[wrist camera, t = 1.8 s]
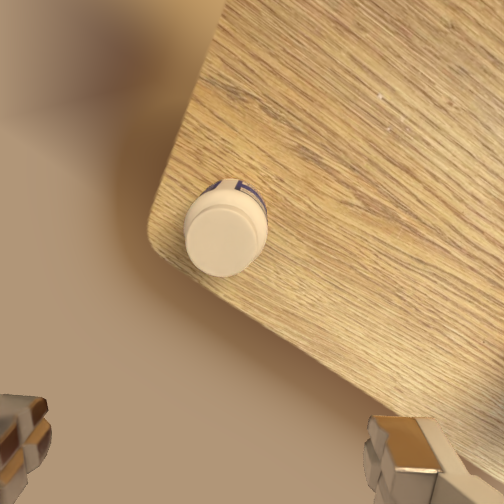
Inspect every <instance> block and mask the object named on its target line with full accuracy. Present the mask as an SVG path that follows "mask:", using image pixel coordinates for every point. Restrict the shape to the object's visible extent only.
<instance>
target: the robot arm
mask: <svg viewBox="0 0 504 504" xmlns="http://www.w3.org/2000/svg"><path fill="white" fill-rule="evenodd" d="M47 412H48V406H47V401H46V399H44V398H42V397H35V396H22V395H9V394H0V504H14V503H15V501H16V500H17V498H18V497H19V495H20V494H21V492H22V491H23V490H24V488H25V487H26V485H27V484H28V478H27V474H28V473H30V472H31V471H33V470H35V469H36V468H38V467H39V466H40V465H41V463H42V461H43V460H44V459H45V457H46V455H47V452H48V450H49V447H50V444H51V436H52V430H51V425H50V424H49V423H48V421H47V420H46V419H45V418H44V416H45V414H46V413H47ZM367 429H368V432H369V435H370V439H368V440H367V441H366V442H365V445H364V453H363V458H364V471H365V476H366V480H367V483H368V486H369V487H370V488H371V489H372V490H373V491H374V492H375V499H374V504H504V495H503V494H502V493H500V492H499V491H497V490H496V489H495V488H493V487H492V486H490V485H489V484H488V483H486V482H485V481H484V480H483V479H481V478H480V477H478V476H477V475H470V474H469V472H468V471H467V469H466V467H465V466H464V464H463V462H462V461H461V459H460V458H459V456H458V454H457V453H456V451H455V449H454V448H453V446H452V445H451V443H450V441H449V440H448V438H447V436H446V435H445V433H444V432H443V430H442V428H441V427H440V425H439V423H438V422H437V420H435V419H434V418H432V417H396V416H375V415H371V416H370V418H369V421H368V427H367Z"/></svg>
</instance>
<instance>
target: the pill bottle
mask: <svg viewBox="0 0 504 504" xmlns="http://www.w3.org/2000/svg"><path fill="white" fill-rule="evenodd" d="M267 235H268V220H267V210H266V204H265V201H264V199H263V197H262V195H261V194H260V192H259V191H258V190H257V189H256V188H255V187H254V186H253V185H251V184H250V183H248V182H246V181H243V180H240V179H233V178H230V179H223V180H220V181H217V182H215V183H214V184H212V185H211V186H209V187H208V188H207V189H206V190H205V191H204V192H203V193H202V194H201V195H200V196H199V197H198V198H197V199H196V200H195V201H194V202H193V203H192V205H191V206H190V208H189V210H188V212H187V214H186V217H185V221H184V237H185V245H186V250H187V253H188V256H189V258H190V260H191V261H192V262H193V264H194V265H195V266H196V267H197V268H198V269H199V270H201V271H202V272H204V273H206V274H208V275H211V276H215V277H230V276H233V275H236V274H238V273H240V272H242V271H243V270H244V269H246V268H247V267H248V266H249V265H250V263H252V262H253V261H254V260H255V259H256V258H257V257H258V256H259V255H260V253H261V252H262V250H263V248H264V246H265V243H266V240H267Z"/></svg>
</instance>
